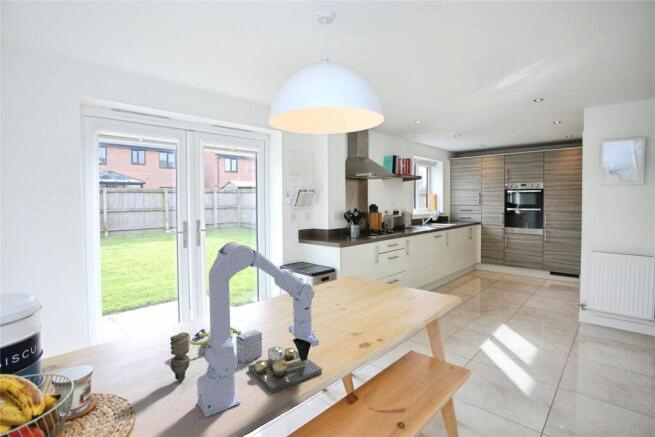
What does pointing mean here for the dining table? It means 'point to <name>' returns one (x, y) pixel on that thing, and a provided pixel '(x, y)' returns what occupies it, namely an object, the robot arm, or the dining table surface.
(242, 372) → the dining table surface
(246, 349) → the medicine box
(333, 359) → the dining table surface
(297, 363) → the brass lever handle
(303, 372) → the levelling base
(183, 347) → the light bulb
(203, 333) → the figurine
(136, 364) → the dining table surface
